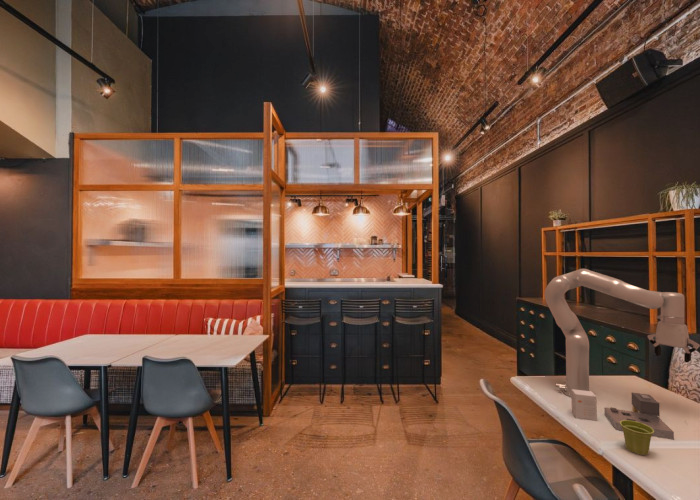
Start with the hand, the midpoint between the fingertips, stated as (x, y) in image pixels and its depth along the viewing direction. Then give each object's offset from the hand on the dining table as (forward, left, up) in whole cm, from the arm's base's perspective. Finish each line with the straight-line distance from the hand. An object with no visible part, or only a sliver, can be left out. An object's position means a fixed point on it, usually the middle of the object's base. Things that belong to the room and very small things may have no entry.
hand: (672, 358), depth 146 cm
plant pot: (-26, -40, -25) cm, 54 cm away
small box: (-37, -18, -25) cm, 48 cm away
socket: (-19, -19, -25) cm, 37 cm away
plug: (-12, -7, -25) cm, 28 cm away
